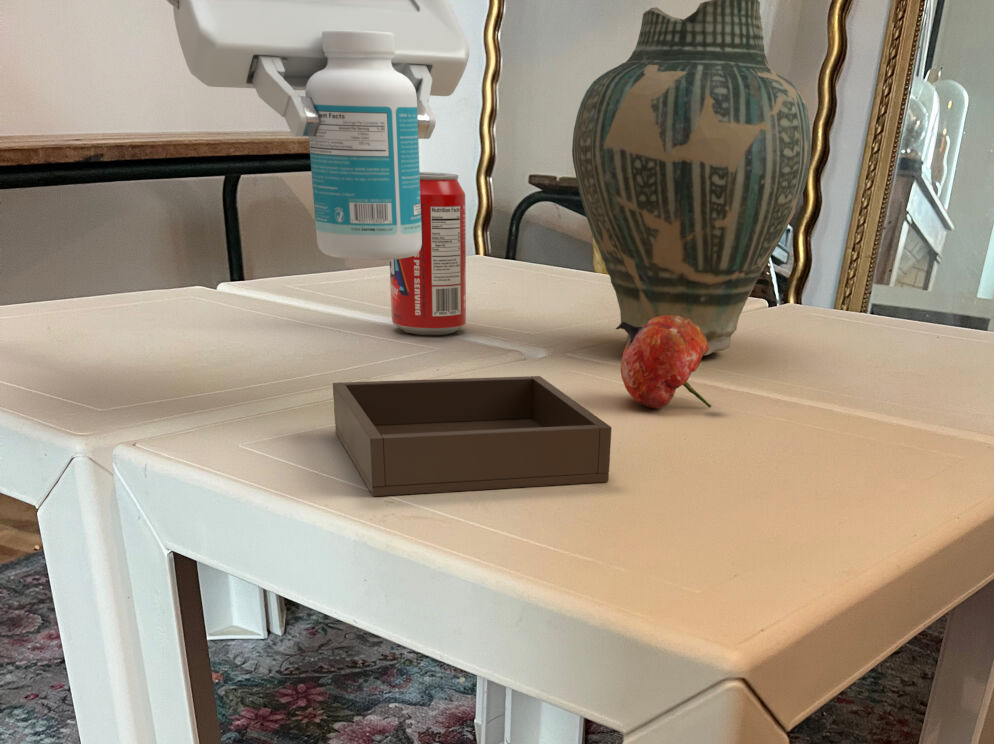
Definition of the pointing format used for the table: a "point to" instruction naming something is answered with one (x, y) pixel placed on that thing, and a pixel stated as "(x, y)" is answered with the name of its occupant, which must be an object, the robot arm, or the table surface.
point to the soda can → (434, 263)
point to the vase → (691, 166)
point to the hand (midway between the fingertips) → (368, 131)
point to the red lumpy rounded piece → (661, 358)
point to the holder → (468, 435)
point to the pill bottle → (365, 151)
